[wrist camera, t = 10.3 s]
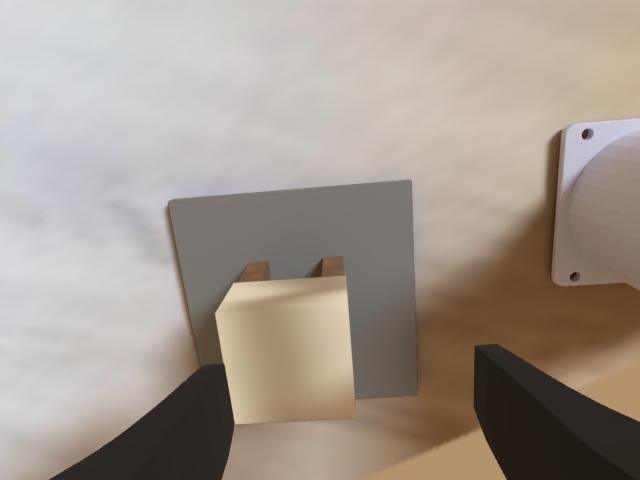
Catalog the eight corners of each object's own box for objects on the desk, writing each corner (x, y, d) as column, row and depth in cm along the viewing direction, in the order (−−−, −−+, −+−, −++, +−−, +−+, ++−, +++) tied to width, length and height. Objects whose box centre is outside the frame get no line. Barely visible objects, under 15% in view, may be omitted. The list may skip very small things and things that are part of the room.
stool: (344, 254, 21) (347, 305, 15) (351, 341, 23) (356, 418, 17) (247, 260, 21) (214, 313, 16) (259, 346, 23) (234, 424, 17)
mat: (409, 179, 21) (411, 181, 20) (415, 388, 24) (417, 395, 23) (172, 199, 21) (167, 201, 21) (210, 399, 25) (207, 406, 24)
